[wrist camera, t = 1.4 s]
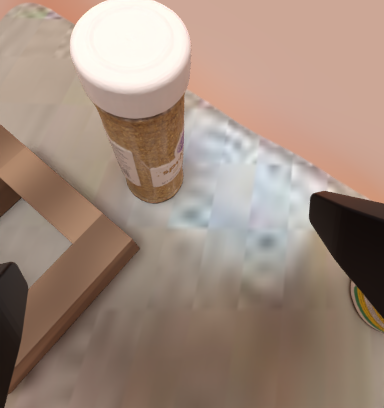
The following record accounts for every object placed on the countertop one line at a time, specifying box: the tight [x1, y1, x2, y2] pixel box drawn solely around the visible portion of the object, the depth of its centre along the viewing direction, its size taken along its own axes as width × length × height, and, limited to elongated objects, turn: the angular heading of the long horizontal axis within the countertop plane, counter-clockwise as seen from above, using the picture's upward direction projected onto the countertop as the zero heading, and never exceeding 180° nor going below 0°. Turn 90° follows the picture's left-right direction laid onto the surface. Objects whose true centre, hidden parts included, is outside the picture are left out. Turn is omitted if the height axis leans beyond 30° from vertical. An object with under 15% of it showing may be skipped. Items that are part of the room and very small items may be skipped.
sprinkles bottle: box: [70, 0, 191, 203], centre depth 17 cm, size 5×5×14 cm
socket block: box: [0, 125, 140, 394], centre depth 19 cm, size 12×12×4 cm
